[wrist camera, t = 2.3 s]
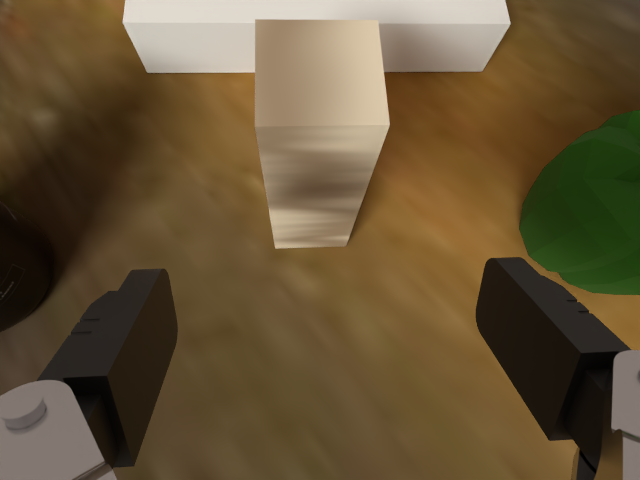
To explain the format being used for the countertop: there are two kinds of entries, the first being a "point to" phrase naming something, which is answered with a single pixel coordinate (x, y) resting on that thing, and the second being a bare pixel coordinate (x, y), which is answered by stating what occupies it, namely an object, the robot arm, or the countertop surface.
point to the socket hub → (314, 4)
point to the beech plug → (318, 124)
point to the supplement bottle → (21, 266)
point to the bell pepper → (590, 210)
